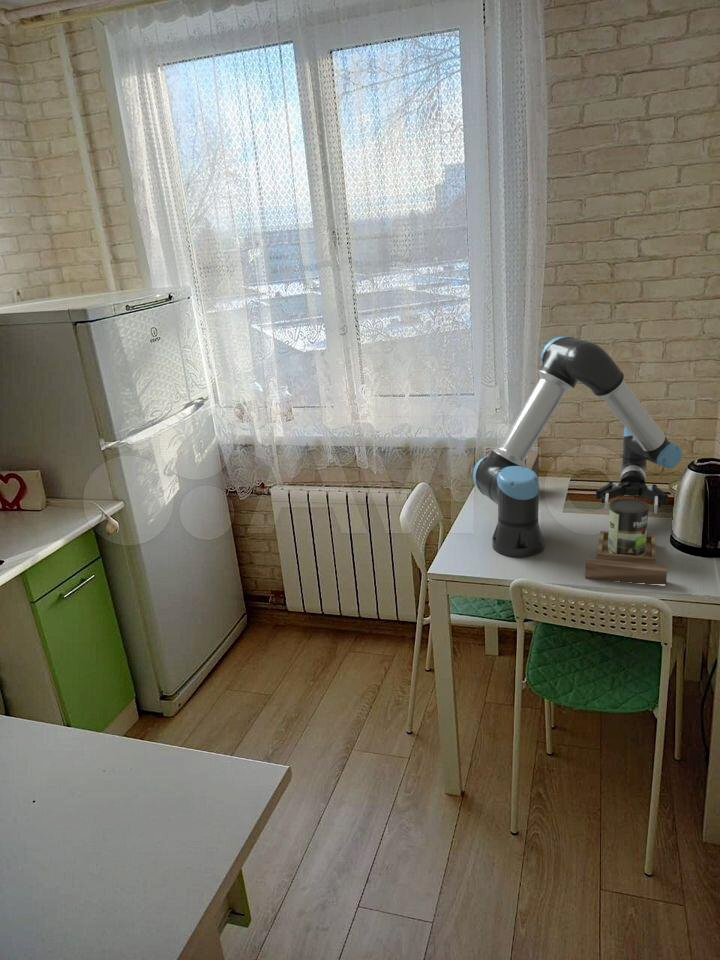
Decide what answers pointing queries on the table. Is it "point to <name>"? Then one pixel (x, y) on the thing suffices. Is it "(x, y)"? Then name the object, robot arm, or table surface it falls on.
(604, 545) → the brown wooden tray
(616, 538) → the coffee can
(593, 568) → the block
